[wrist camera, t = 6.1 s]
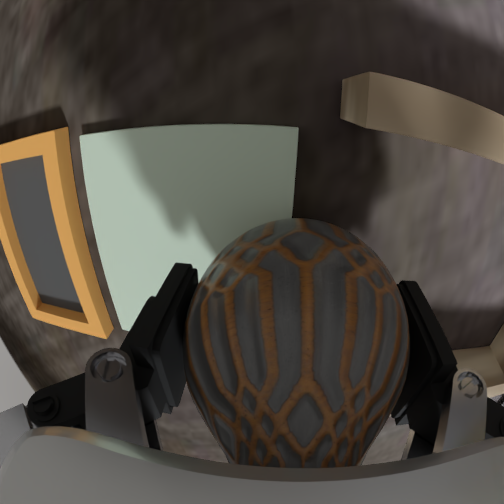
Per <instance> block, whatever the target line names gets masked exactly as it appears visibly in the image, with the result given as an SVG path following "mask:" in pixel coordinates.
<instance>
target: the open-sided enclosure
mask: <svg viewBox="0 0 504 504" xmlns="http://www.w3.org/2000/svg"><path fill="white" fill-rule="evenodd" d="M340 119H343V120H346V121H349V122H351V123H354V124H357V125H359V126H362V127H364V128H369V129H374V130H380V131H385V132H390V133H395V134H400V135H405V136H409V137H414V138H418V139H422V140H427V141H430V142H434V143H438V144H442V145H446V146H449V147H453V148H456V149H460V150H463V151H466V152H469V153H472V154H476V155H479V156H482V157H485V158H487V159H490V160H493V161H496V162H499V163H501V164H504V116H502V115H500V114H498V113H496V112H494V111H492V110H490V109H487V108H485V107H483V106H481V105H478V104H476V103H473V102H471V101H468V100H466V99H463V98H461V97H458V96H455V95H453V94H450V93H447V92H444V91H441V90H438V89H435V88H432V87H429V86H426V85H422V84H419V83H416V82H412V81H408V80H405V79H401V78H397V77H393V76H389V75H384V74H380V73H375V72H366V73H362V74H359V75H356V76H352V77H349V78H346V79H343V80H342V97H341V111H340ZM452 352H453V354H454V356H455V358H456V360H457V365H456V366H457V369H458V370H460V369H462V368H470V369H473V370H475V371H477V372H478V373H479V374H480V375H481V376H482V377H483V379H484V380H485V383H486V386H487V397H489V398H490V397H494V396H497V395H501V394H504V324H503V325H502V327H501V329H500V330H499V332H498V334H497V335H496V337H495V338H494V340H493V341H492V343H491V344H490V346H485V347H477V348H469V349H459V350H452ZM390 416H391V414H390Z"/></svg>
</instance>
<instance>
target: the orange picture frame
mask: <svg viewBox="0 0 504 504" xmlns="http://www.w3.org/2000/svg"><path fill="white" fill-rule="evenodd" d="M0 238H1V241H2V245H3V247H4V250H5V253H6V256H7V259H8V262H9V264H10V267H11V270H12V272H13V275H14V277H15V280H16V282H17V284H18V287H19V289H20V291H21V294H22V296H23V298H24V300H25V302H26V305H27V307H28V309H29V311H30V313H31V315H32V317H33V318H35V319H38V320H41V321H44V322H47V323H50V324H54V325H57V326H60V327H64V328H67V329H71V330H74V331H78V332H81V333H85V334H89V335H93V336H97V337H101V338H105V339H107V338H108V337H109V335H110V333H111V332H112V330H113V325H112V322H111V320H110V317H109V314H108V311H107V308H106V305H105V302H104V299H103V296H102V293H101V290H100V287H99V284H98V280H97V277H96V274H95V270H94V267H93V263H92V260H91V256H90V252H89V248H88V244H87V240H86V236H85V232H84V227H83V223H82V218H81V213H80V209H79V203H78V198H77V192H76V187H75V180H74V174H73V167H72V159H71V151H70V142H69V131H68V127H64V128H59V129H55V130H51V131H47V132H42V133H38V134H35V135H31V136H27V137H24V138H20V139H17V140H13V141H10V142H7V143H3V144H0Z"/></svg>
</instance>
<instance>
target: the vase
mask: <svg viewBox="0 0 504 504" xmlns="http://www.w3.org/2000/svg"><path fill="white" fill-rule="evenodd" d="M409 356H410V333H409V324H408V317H407V313H406V309H405V305H404V301H403V299H402V296H401V294H400V291H399V289H398V287H397V285H396V283H395V281H394V279H393V277H392V276H391V274H390V272H389V271H388V269H387V268H386V266H385V265H384V263H383V262H382V261H381V259H380V258H379V257H378V255H377V254H376V253H375V252H374V251H373V250H372V249H371V248H370V247H369V246H367V245H366V244H365V243H364V242H363V241H361V240H360V239H359V238H358V237H356V236H355V235H353V234H351V233H350V232H348V231H346V230H344V229H342V228H340V227H338V226H336V225H333V224H330V223H327V222H324V221H320V220H314V219H306V218H289V219H281V220H276V221H271V222H268V223H265V224H262V225H259V226H257V227H255V228H253V229H251V230H249V231H247V232H245V233H244V234H242V235H241V236H239V237H238V238H236V239H235V240H233V241H232V242H231V243H230V244H228V245H227V246H226V247H225V248H224V249H223V250H222V251H221V252H220V253H219V254H218V255H217V256H216V257H215V259H214V260H213V261H212V262H211V264H210V265H209V267H208V268H207V270H206V271H205V273H204V275H203V276H202V278H201V280H200V282H199V284H198V286H197V288H196V290H195V292H194V294H193V297H192V299H191V302H190V305H189V308H188V311H187V315H186V320H185V326H184V334H183V362H184V371H185V377H186V381H187V386H188V389H189V392H190V394H191V397H192V399H193V402H194V404H195V406H196V408H197V410H198V411H199V413H200V415H201V417H202V418H203V420H204V422H205V424H206V425H207V427H208V429H209V430H210V432H211V433H212V435H213V437H214V438H215V440H216V441H217V443H218V444H219V446H220V447H221V449H222V450H223V452H224V453H225V455H226V458H227V460H228V462H229V463H231V464H239V465H249V466H261V467H276V468H335V467H351V466H361V465H362V462H363V460H364V458H365V456H366V454H367V452H368V450H369V448H370V447H371V445H372V444H373V442H374V440H375V439H376V437H377V436H378V434H379V433H380V431H381V429H382V428H383V426H384V424H385V423H386V421H387V419H388V418H389V416H390V414H391V412H392V410H393V408H394V407H395V405H396V403H397V400H398V398H399V396H400V394H401V392H402V389H403V386H404V383H405V380H406V376H407V371H408V366H409Z"/></svg>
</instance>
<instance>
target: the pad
mask: <svg viewBox="0 0 504 504" xmlns="http://www.w3.org/2000/svg"><path fill="white" fill-rule="evenodd" d="M298 130H299V128H298V127H290V126H275V125H254V124H187V125H166V126H152V127H140V128H129V129H120V130H112V131H104V132H97V133H90V134H84V135H81V136H80V146H81V155H82V163H83V171H84V178H85V185H86V191H87V197H88V202H89V208H90V213H91V218H92V223H93V228H94V232H95V237H96V241H97V245H98V250H99V254H100V258H101V261H102V265H103V269H104V273H105V276H106V280H107V283H108V287H109V290H110V293H111V297H112V300H113V303H114V306H115V309H116V312H117V315H118V318H119V321H120V324H121V327H122V330H127V331H130V329H131V327H132V326H133V324H134V322H135V320H136V318H137V317H138V315H139V313H140V312H141V310H142V308H143V306H144V305H145V303H146V301H147V300H148V298H149V297H151V296H156V295H157V293H158V291H159V290H160V288H161V286H162V284H163V283H164V281H165V279H166V277H167V276H168V274H169V272H170V271H171V269H172V267H173V266H174V264H175V263H187V264H192V266H193V268H196V269H197V271H198V282H200V280H201V278H202V276H203V275H204V273H205V271H206V270H207V268H208V267H209V265H210V264H211V262H212V261H213V260H214V259H215V257H216V256H217V255H218V254H219V253H220V252H221V251H222V250H223V249H224V248H225V247H226V246H227V245H228V244H230V243H231V242H232V241H233V240H235V239H236V238H238V237H239V236H241V235H242V234H244V233H245V232H247V231H249V230H251V229H253V228H255V227H257V226H259V225H262V224H265V223H268V222H271V221H276V220H281V219H289V218H292V210H293V198H294V186H295V174H296V160H297V146H298Z"/></svg>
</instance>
